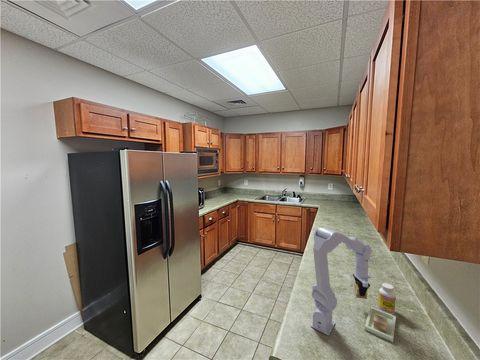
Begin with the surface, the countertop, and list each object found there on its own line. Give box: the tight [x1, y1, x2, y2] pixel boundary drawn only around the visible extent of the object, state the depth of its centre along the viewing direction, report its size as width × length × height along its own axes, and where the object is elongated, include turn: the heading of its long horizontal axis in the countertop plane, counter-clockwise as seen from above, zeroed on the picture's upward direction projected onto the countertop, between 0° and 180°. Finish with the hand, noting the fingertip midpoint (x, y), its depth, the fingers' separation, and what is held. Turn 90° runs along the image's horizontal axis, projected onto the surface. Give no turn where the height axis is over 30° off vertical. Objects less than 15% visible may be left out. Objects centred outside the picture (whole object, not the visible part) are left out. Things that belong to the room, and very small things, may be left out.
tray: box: [364, 306, 397, 344], centre depth 92 cm, size 16×10×2 cm, turn 139°
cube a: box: [373, 314, 387, 334], centre depth 89 cm, size 4×4×4 cm
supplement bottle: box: [378, 282, 397, 315], centre depth 101 cm, size 7×7×13 cm
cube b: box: [353, 283, 368, 300], centre depth 102 cm, size 4×4×4 cm
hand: (360, 292), depth 102 cm, fingers closed on cube b, 4 cm apart
